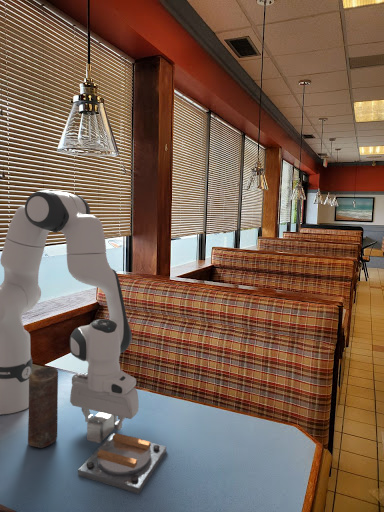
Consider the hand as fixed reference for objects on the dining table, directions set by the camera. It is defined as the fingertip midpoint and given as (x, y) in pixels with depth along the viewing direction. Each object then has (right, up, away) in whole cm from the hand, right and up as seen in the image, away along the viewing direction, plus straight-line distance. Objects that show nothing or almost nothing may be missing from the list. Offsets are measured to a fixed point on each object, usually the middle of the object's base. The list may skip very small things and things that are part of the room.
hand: (103, 425), depth 108 cm
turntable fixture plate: (+8, -4, -12) cm, 15 cm away
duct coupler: (0, -2, 0) cm, 2 cm away
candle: (-15, -3, -6) cm, 16 cm away
